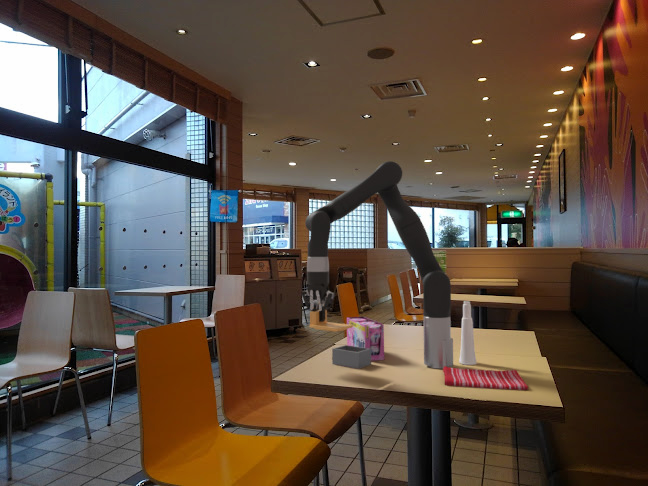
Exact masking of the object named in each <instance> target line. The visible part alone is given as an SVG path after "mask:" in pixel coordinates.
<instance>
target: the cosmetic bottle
mask: <svg viewBox="0 0 648 486" xmlns="http://www.w3.org/2000/svg"><path fill="white" fill-rule="evenodd" d="M473 325H474V322H473V317H472V305H471V301H470V300H469V301H468V300H467V301H466V300H465V301H463V304H462V318H461V330H460V331H461V333H460V334H461V336H460V337H461V338H460V352H459V360H458V363H459V364H461V365H466V366H474V365H477V364H478V363H477V358H476V351H475V350H476V349H475V339H474V336H475V335H474V326H473Z"/></svg>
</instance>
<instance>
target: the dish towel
mask: <svg viewBox="0 0 648 486" xmlns="http://www.w3.org/2000/svg"><path fill="white" fill-rule="evenodd" d="M442 372H443V375H444V376H443V377H444V386H446V385H447V387H448V386H449V387H450V386H451V387H463V388H475V389H476V388H477V389H478V388H479V389H493V390H494V389H495V390H511V391H528V390H529V386H528V384H526V382H525V380H524V379H523V377H522V376H521V374H520V373H519V372H518V371H517V370H516V369H507V370H505V369H504V370H495V369H494V370H493V369H491V370H490V369H487V370H486V369H476V368H458V367H457V368H456V367H446V366H444V368H442Z"/></svg>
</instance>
